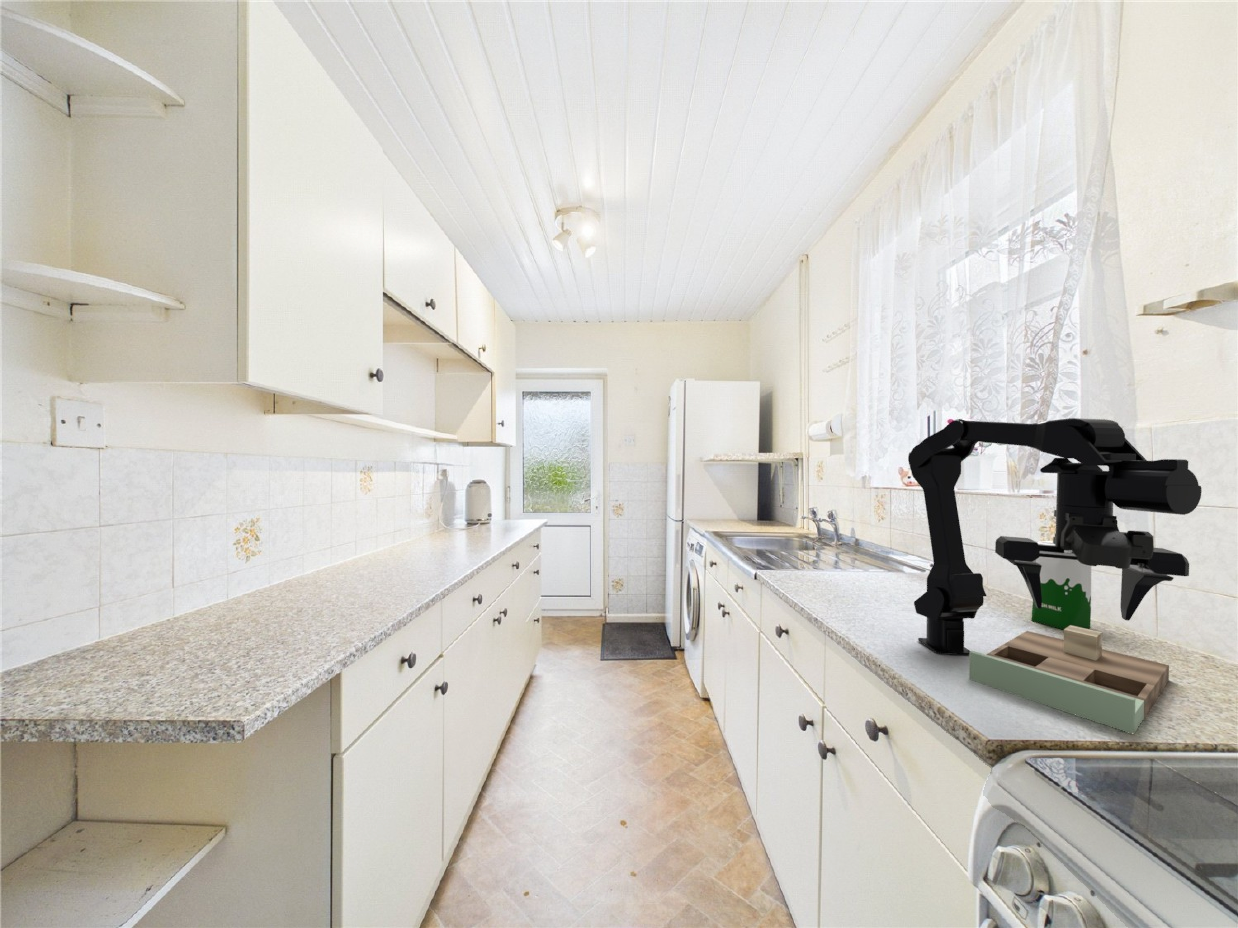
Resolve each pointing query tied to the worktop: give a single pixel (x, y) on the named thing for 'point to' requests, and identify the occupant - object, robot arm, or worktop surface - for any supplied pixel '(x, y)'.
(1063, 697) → the pad
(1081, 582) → the milk carton
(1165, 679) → the trap board
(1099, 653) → the maple block
